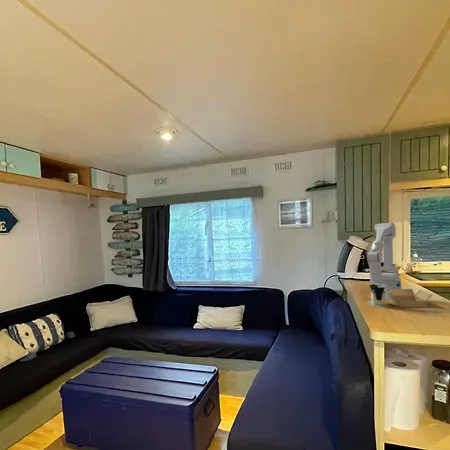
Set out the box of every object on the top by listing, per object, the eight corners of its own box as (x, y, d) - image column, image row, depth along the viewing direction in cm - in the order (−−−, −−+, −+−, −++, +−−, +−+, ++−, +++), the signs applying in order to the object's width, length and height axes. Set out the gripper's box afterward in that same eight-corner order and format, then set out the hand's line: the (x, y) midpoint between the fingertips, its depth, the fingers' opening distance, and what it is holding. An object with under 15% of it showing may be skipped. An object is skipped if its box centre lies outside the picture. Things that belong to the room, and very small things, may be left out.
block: (371, 302, 162) (370, 289, 163) (383, 302, 161) (382, 289, 161) (373, 304, 158) (372, 291, 158) (386, 304, 156) (385, 290, 157)
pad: (367, 302, 166) (367, 301, 166) (382, 302, 164) (382, 301, 164) (372, 307, 154) (372, 305, 154) (389, 307, 153) (389, 306, 153)
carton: (383, 300, 168) (382, 289, 169) (418, 300, 164) (417, 288, 165) (394, 307, 151) (393, 295, 151) (433, 308, 147) (432, 294, 147)
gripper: (364, 272, 168) (366, 296, 167) (371, 275, 154) (373, 301, 153) (378, 272, 167) (380, 296, 166) (386, 275, 153) (388, 301, 152)
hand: (377, 299), depth 160 cm, fingers open, 5 cm apart
